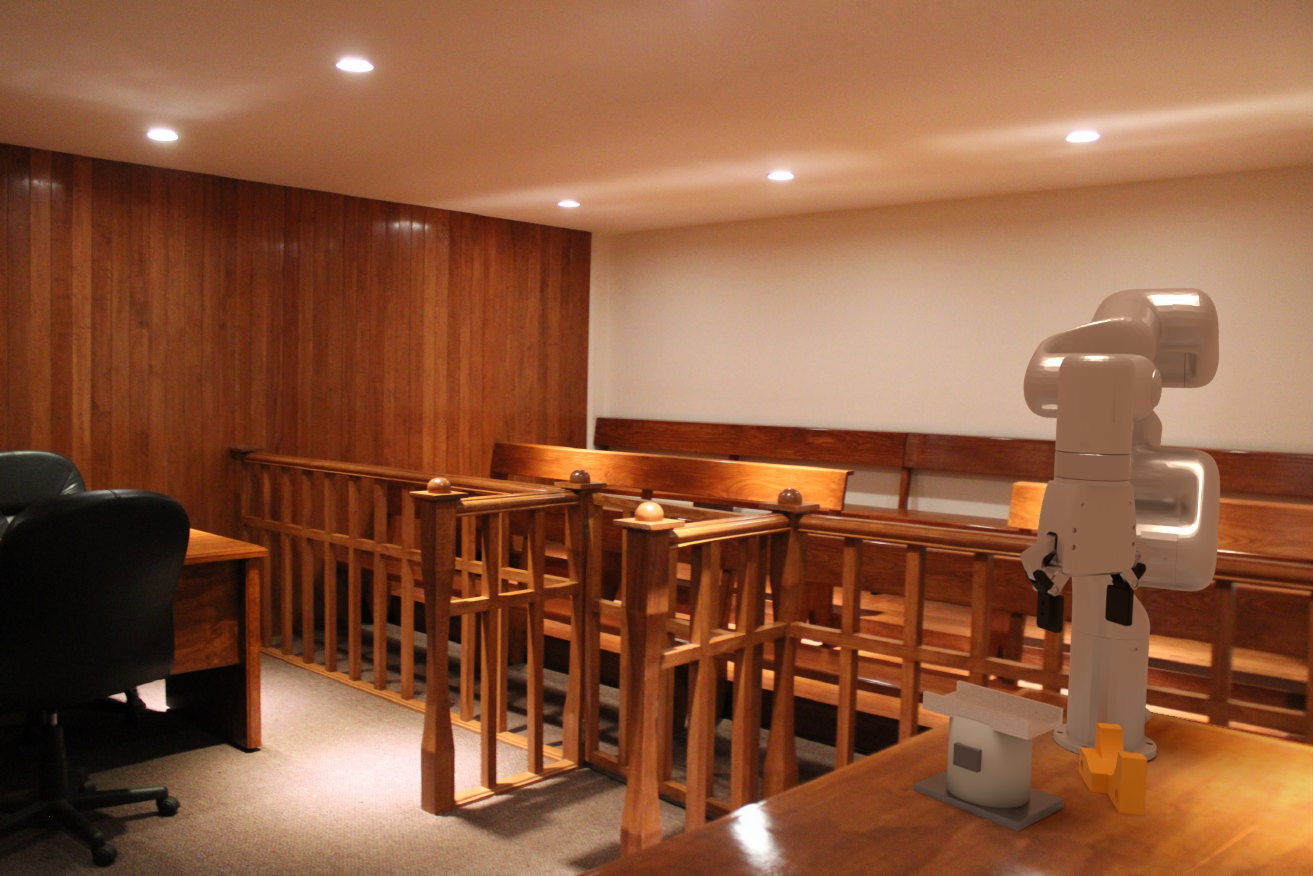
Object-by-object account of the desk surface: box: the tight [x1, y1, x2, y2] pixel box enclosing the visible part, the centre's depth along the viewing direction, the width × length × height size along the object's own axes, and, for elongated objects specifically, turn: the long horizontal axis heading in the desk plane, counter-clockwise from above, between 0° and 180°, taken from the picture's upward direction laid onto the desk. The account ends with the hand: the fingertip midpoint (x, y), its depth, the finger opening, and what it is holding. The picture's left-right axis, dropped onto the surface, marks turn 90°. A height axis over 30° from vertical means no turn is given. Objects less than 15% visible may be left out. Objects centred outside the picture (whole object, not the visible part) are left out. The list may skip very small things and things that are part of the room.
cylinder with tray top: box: [912, 680, 1065, 832], centre depth 115 cm, size 10×13×12 cm
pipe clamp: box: [1078, 723, 1148, 816], centre depth 119 cm, size 12×4×6 cm, turn 169°
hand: (1084, 626), depth 110 cm, fingers open, 9 cm apart
